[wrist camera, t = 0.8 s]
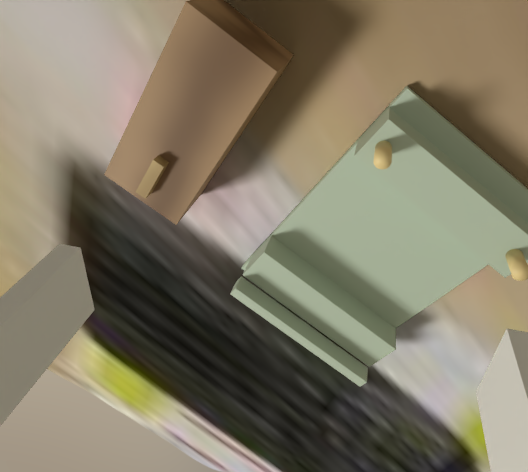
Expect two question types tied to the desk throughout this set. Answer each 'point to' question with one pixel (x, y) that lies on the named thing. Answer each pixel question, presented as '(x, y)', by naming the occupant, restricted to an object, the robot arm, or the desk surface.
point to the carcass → (387, 237)
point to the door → (195, 105)
